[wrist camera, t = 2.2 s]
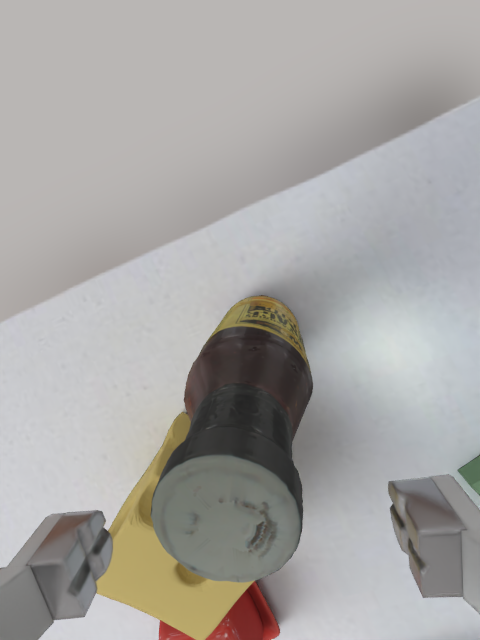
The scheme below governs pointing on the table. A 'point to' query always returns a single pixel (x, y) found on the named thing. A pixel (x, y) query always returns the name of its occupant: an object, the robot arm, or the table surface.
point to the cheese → (161, 561)
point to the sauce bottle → (238, 449)
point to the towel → (472, 474)
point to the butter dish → (237, 621)
